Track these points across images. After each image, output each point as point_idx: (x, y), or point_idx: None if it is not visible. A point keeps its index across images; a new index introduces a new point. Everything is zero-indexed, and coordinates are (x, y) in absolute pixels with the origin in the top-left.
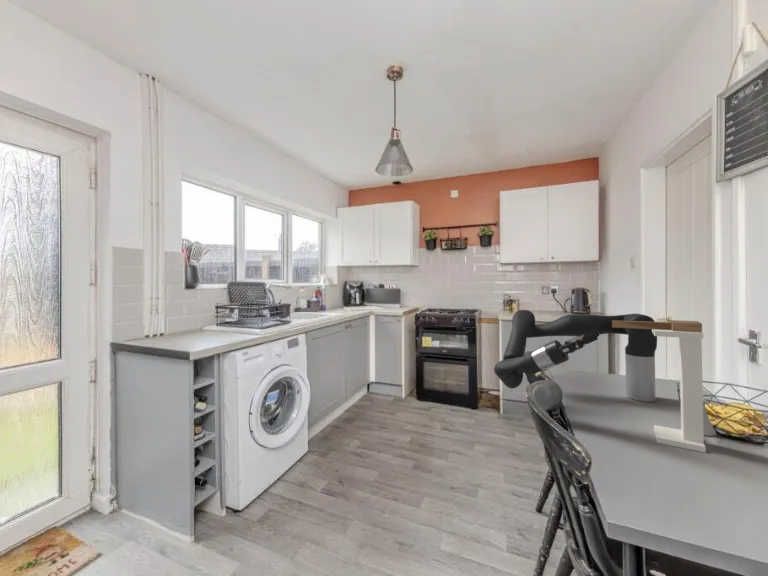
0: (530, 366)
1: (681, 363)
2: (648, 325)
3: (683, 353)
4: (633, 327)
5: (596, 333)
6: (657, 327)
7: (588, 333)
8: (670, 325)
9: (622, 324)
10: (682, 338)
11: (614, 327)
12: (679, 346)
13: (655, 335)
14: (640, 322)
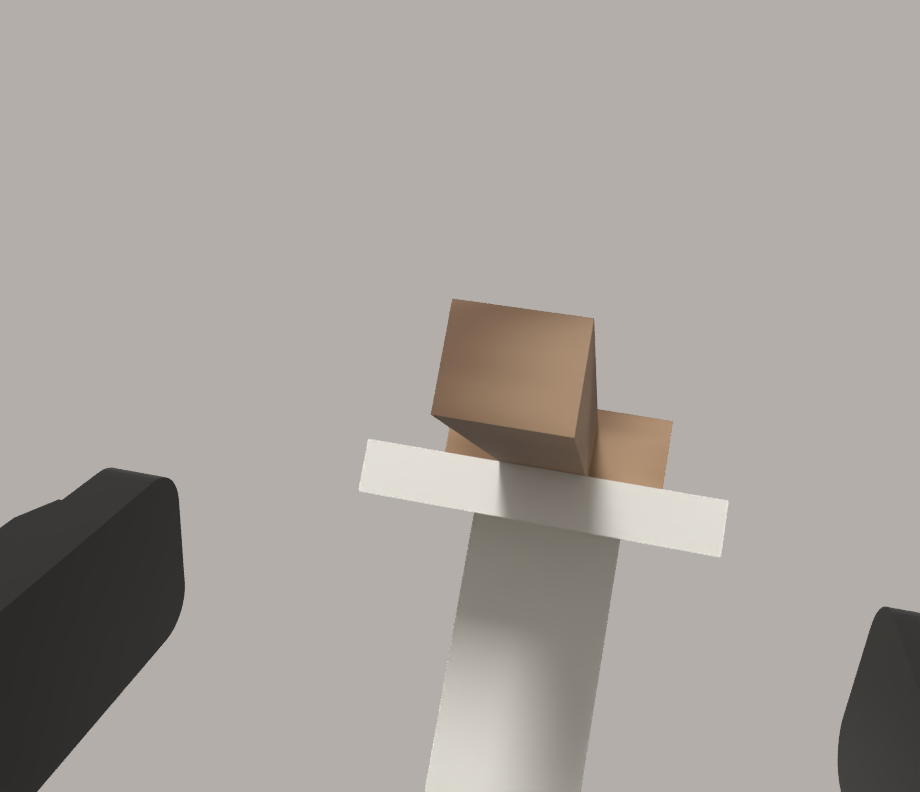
0: None
1: (531, 771)
2: (591, 433)
3: (597, 682)
4: (583, 450)
5: (162, 566)
6: (589, 458)
7: (44, 591)
8: (594, 442)
9: (586, 398)
10: (616, 555)
11: (573, 440)
12: (459, 618)
13: (719, 550)
14: (595, 392)
